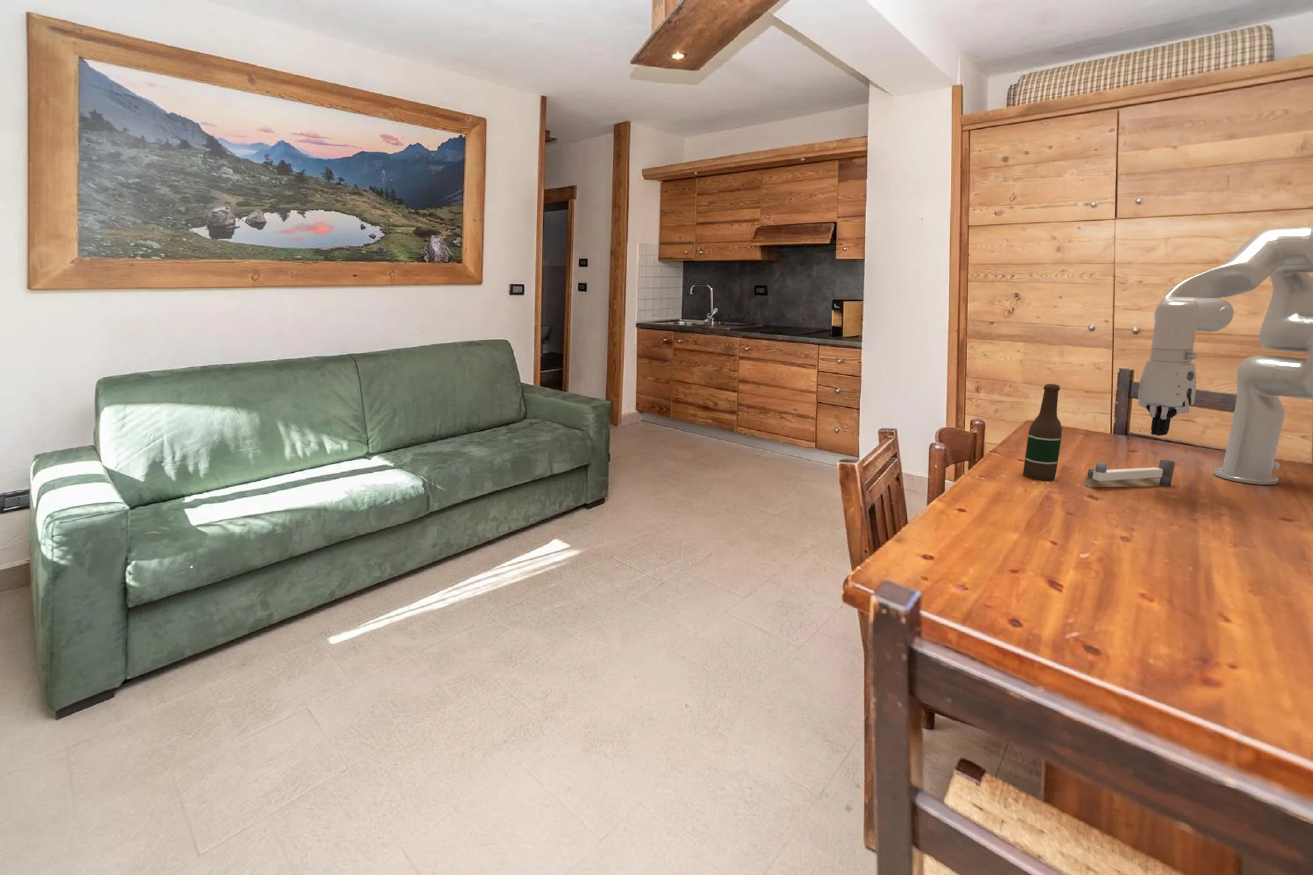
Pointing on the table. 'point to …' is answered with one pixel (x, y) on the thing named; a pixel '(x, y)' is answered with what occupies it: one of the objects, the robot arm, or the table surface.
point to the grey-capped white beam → (1162, 481)
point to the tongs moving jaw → (1124, 473)
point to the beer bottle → (1044, 439)
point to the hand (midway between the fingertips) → (1159, 434)
